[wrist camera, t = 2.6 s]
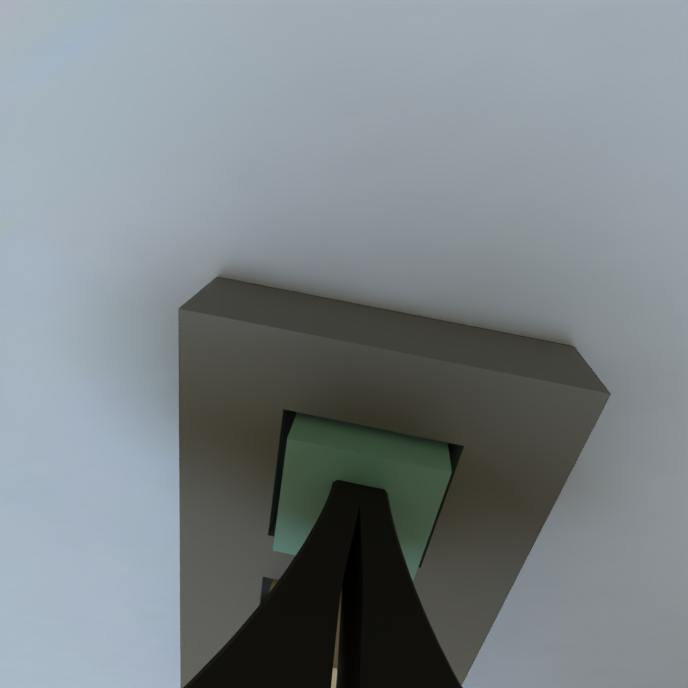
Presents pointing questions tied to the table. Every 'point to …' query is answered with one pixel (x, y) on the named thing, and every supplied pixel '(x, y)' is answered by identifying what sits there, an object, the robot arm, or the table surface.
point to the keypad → (373, 411)
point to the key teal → (360, 479)
